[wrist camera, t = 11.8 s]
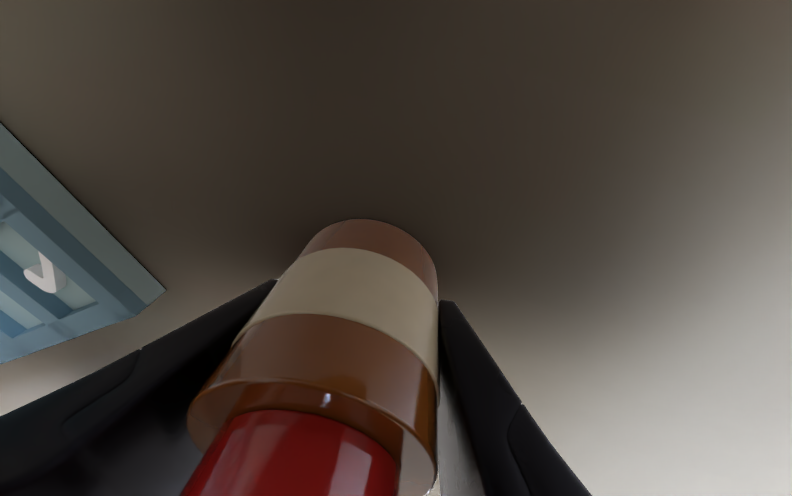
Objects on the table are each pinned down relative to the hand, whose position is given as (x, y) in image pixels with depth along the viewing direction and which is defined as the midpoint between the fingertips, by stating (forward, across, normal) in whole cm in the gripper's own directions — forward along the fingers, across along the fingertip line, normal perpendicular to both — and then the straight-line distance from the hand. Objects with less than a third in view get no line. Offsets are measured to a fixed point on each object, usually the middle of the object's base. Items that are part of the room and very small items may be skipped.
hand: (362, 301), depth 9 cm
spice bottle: (+1, 0, 0) cm, 1 cm away
